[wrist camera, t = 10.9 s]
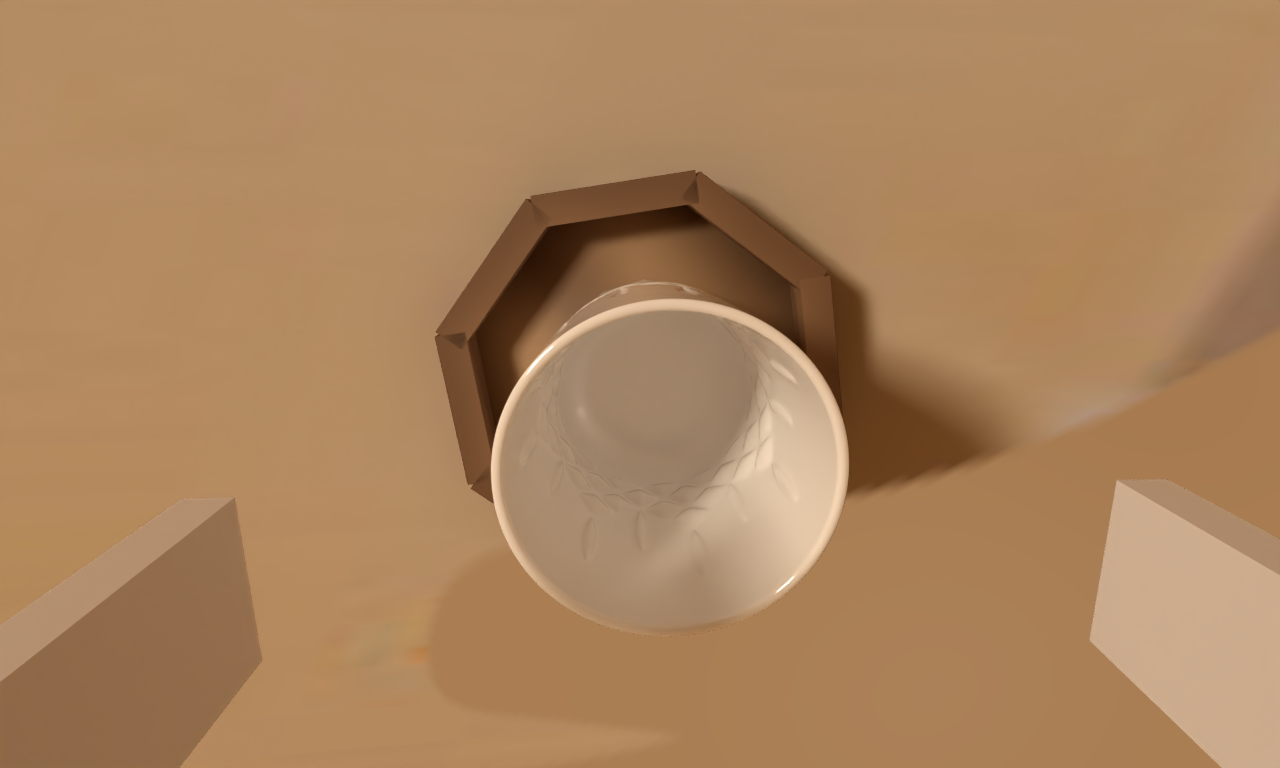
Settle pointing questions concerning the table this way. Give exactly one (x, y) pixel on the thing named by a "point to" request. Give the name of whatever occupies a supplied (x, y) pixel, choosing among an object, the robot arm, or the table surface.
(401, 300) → the table surface
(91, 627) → the robot arm
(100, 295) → the table surface
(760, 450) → the white cup
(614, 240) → the coaster ring
